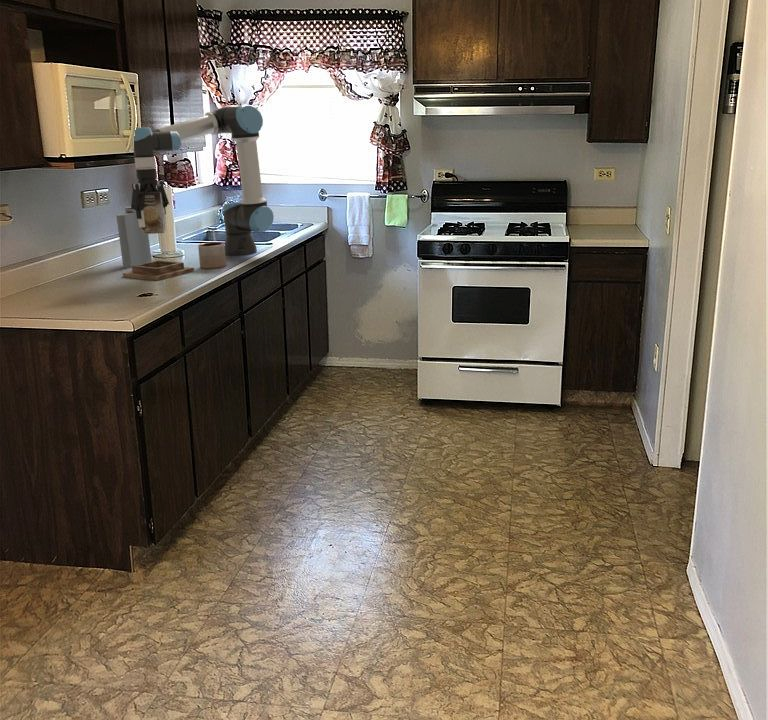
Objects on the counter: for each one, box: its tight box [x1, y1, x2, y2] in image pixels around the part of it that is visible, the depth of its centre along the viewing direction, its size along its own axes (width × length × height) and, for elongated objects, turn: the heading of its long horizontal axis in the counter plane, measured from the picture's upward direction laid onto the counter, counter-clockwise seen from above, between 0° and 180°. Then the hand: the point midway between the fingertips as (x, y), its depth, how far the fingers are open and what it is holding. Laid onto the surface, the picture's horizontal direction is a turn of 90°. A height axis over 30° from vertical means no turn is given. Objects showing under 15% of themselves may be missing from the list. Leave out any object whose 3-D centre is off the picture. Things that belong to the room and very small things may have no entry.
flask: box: [115, 206, 152, 269], centre depth 347 cm, size 17×5×25 cm, turn 161°
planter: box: [197, 241, 227, 270], centre depth 337 cm, size 11×11×10 cm
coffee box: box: [139, 191, 166, 235], centre depth 320 cm, size 9×6×16 cm
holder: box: [122, 259, 195, 282], centre depth 326 cm, size 20×20×4 cm
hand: (152, 225), depth 321 cm, fingers closed on coffee box, 10 cm apart
